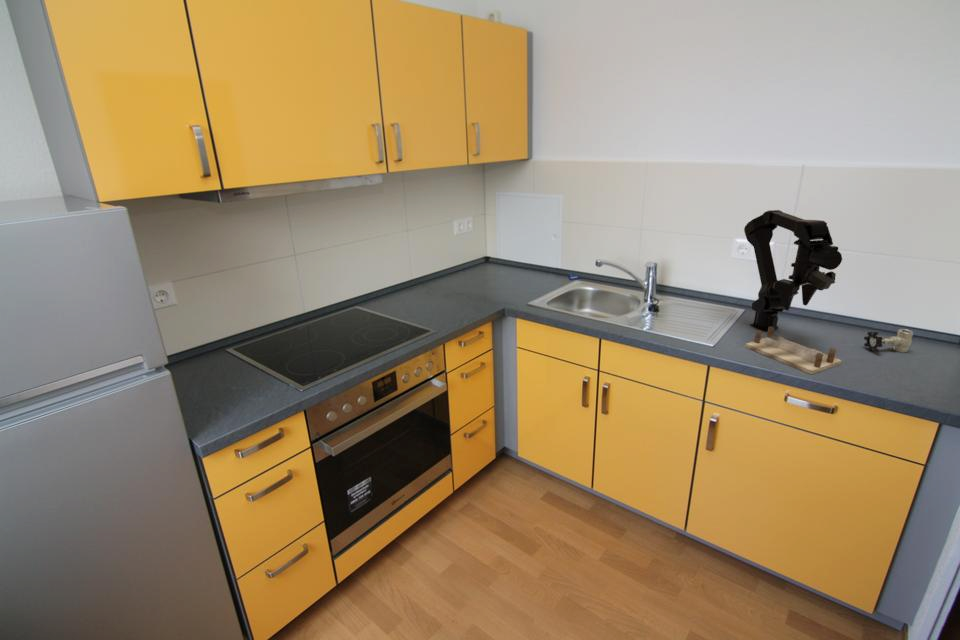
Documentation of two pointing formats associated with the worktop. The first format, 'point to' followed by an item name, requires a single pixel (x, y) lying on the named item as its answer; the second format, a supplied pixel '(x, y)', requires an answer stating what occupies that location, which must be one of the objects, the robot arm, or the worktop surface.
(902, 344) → the valve
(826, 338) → the worktop surface
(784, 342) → the beige stepped post
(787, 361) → the peg board
